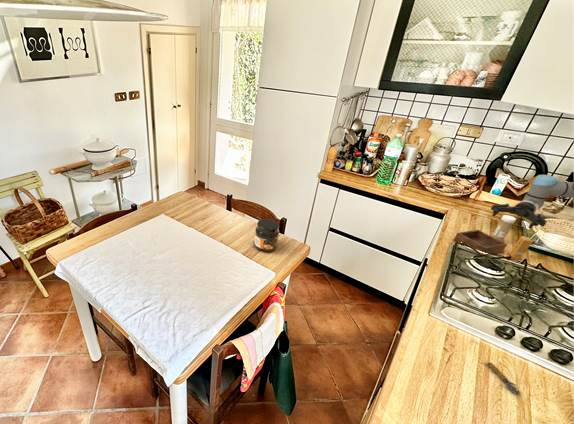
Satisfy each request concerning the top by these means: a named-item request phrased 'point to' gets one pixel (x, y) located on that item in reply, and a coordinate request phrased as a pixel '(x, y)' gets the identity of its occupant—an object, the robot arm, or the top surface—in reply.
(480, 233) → the holder
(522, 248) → the supplement box
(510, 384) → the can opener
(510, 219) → the sprinkles bottle
